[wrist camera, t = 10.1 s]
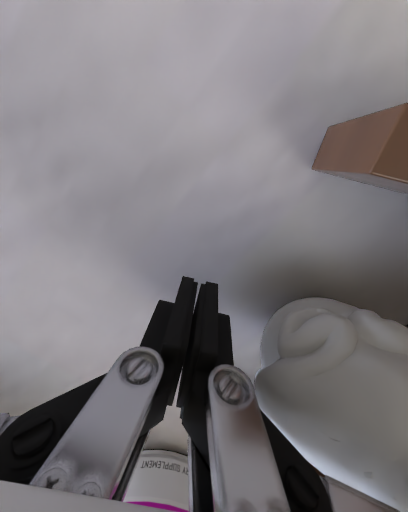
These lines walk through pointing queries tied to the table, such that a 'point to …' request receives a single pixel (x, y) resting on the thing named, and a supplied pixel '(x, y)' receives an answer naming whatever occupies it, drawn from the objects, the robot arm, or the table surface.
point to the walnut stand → (368, 152)
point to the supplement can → (160, 481)
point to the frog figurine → (340, 393)
